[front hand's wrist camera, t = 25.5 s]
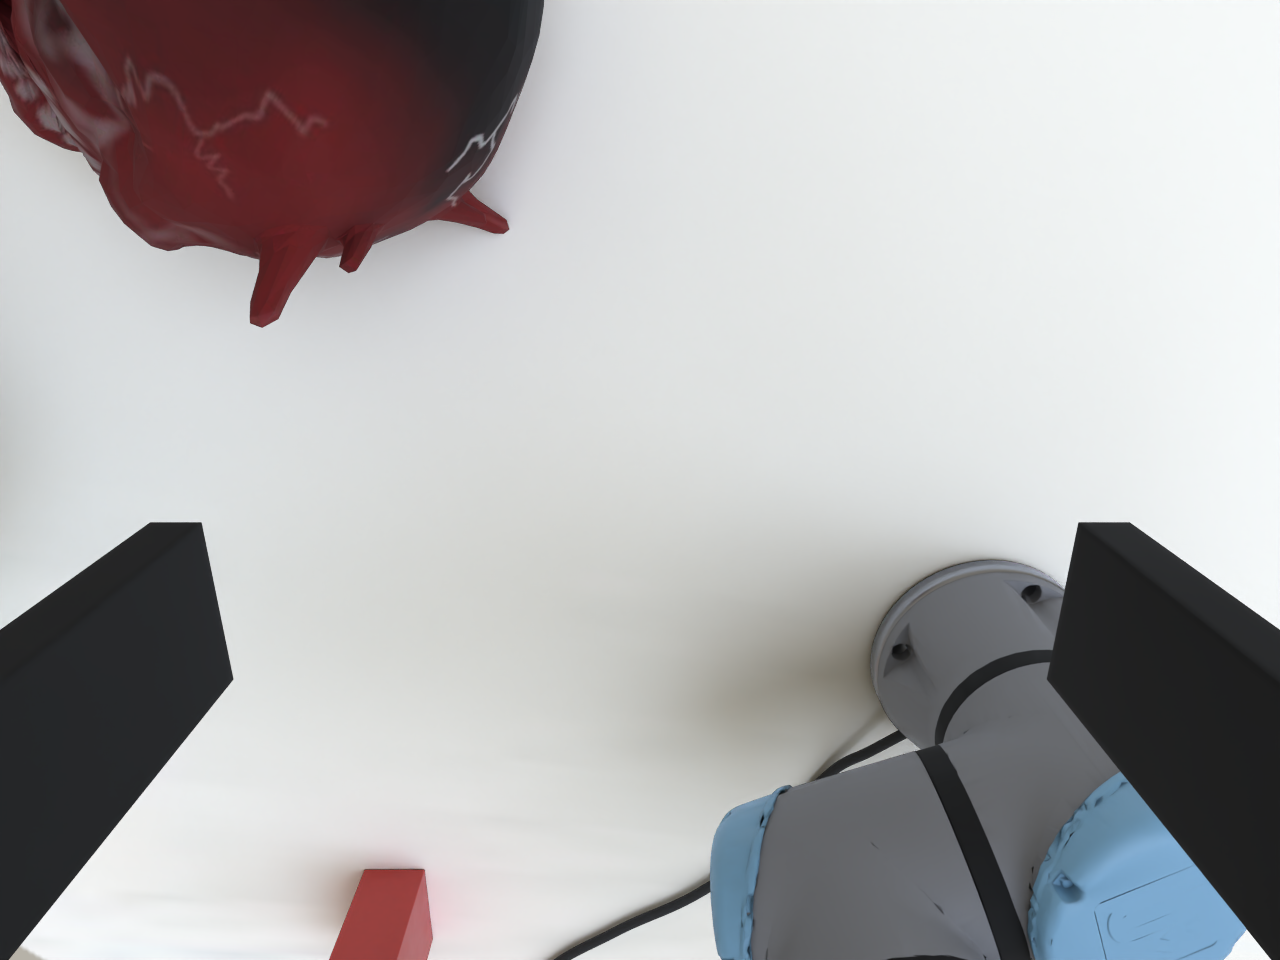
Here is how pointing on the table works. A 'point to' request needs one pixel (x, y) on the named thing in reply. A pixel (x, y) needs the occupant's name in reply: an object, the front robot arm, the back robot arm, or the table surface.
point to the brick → (387, 918)
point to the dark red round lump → (275, 116)
